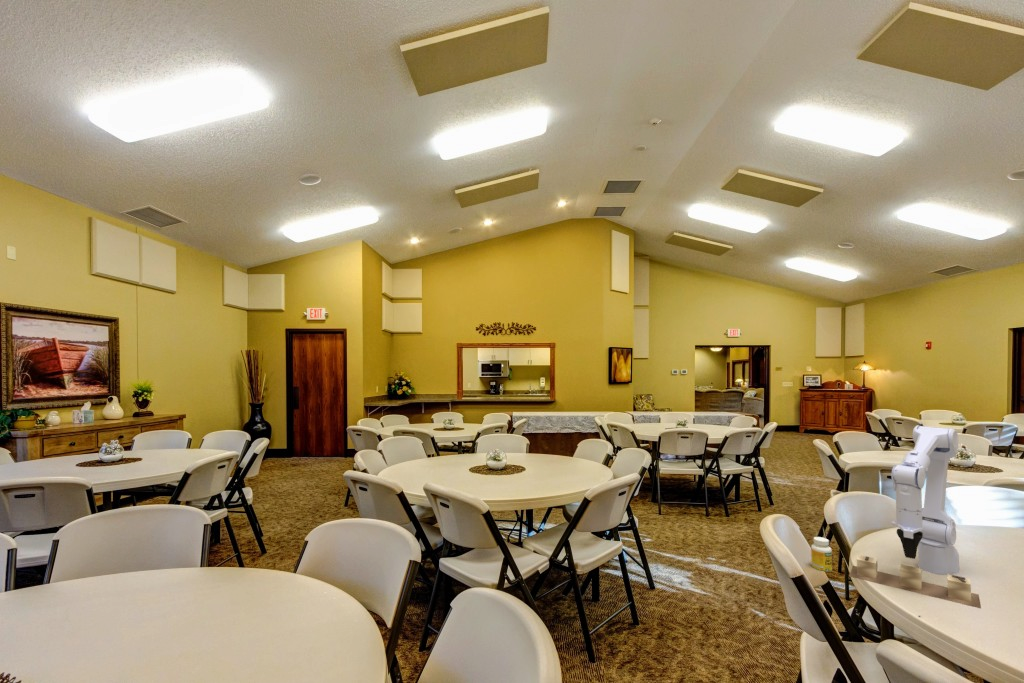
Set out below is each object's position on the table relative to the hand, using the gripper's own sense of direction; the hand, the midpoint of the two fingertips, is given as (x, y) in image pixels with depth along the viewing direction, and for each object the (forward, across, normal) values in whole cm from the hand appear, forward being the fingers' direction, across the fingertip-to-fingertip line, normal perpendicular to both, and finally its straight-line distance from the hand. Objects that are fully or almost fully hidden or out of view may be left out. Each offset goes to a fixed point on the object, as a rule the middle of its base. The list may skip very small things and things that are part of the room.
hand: (910, 557), depth 137 cm
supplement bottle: (+9, +3, -21) cm, 23 cm away
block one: (+8, 0, -10) cm, 13 cm away
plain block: (+8, 0, 0) cm, 8 cm away
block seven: (+8, 0, +10) cm, 13 cm away
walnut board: (+9, 0, 0) cm, 9 cm away
